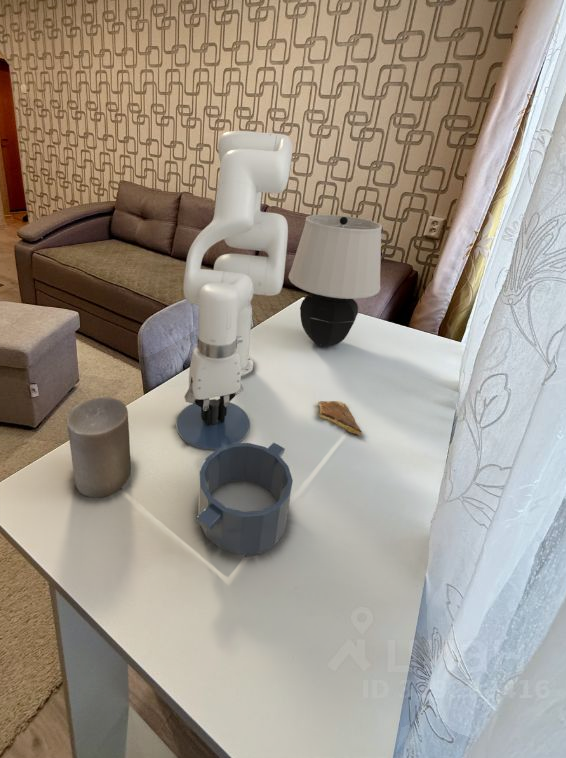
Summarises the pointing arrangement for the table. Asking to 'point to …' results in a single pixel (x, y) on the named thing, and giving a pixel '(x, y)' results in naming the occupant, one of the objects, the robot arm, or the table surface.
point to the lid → (212, 426)
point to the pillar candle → (99, 446)
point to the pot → (234, 526)
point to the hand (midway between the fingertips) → (213, 419)
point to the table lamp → (335, 273)
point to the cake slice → (339, 415)
